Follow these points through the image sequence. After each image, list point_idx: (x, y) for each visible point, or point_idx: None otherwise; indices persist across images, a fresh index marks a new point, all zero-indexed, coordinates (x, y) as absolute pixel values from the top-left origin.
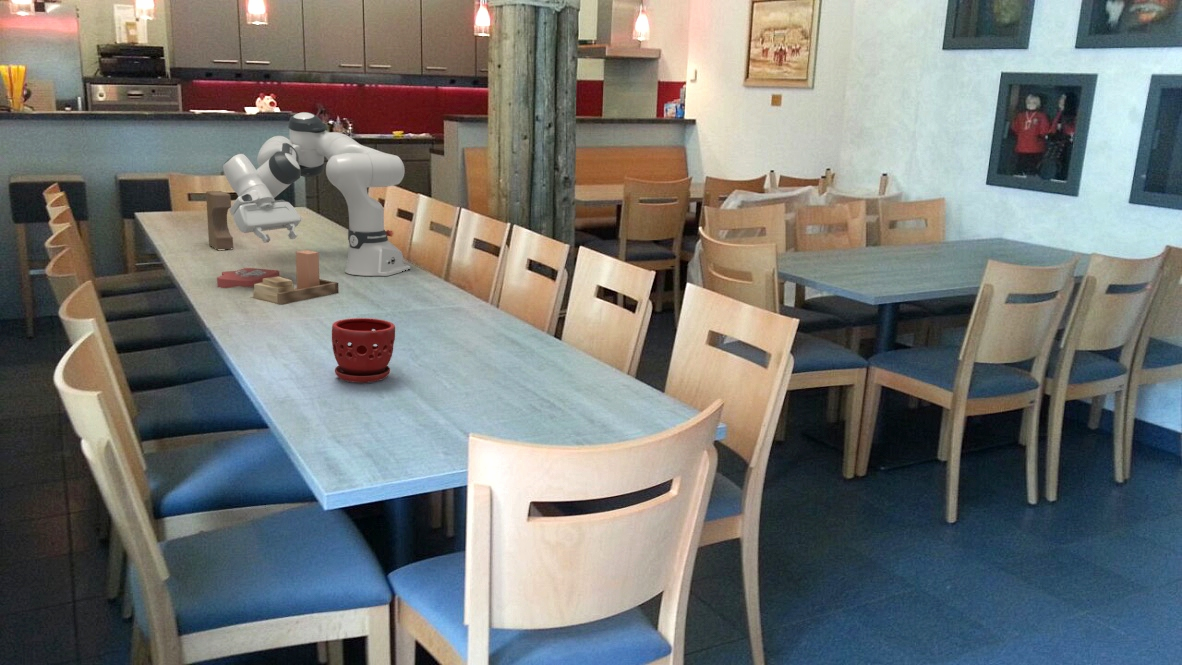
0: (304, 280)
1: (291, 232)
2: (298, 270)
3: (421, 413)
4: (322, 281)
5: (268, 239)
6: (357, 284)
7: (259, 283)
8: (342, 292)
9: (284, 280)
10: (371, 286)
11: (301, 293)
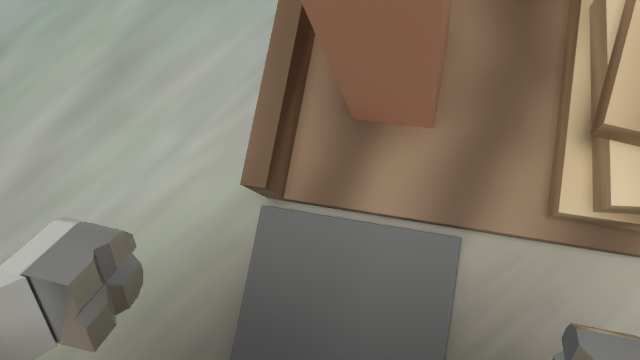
0: (447, 24)
1: (74, 268)
2: (441, 52)
3: None
4: (298, 31)
5: (618, 333)
6: (46, 84)
7: None
8: (230, 18)
9: None
10: (54, 7)
11: None
